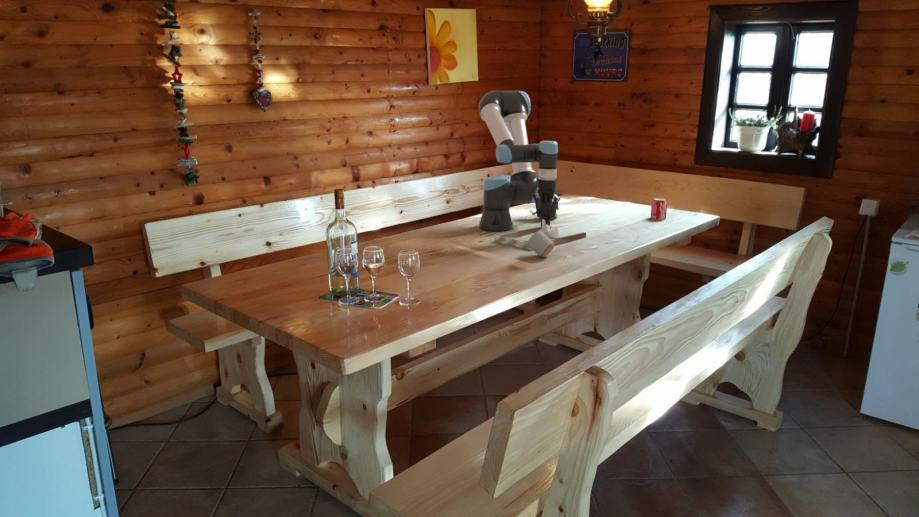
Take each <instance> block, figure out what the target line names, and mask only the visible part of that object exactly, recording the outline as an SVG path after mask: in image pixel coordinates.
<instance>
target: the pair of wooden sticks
mask: <svg viewBox="0 0 919 517" xmlns="http://www.w3.org/2000/svg"><path fill="white" fill-rule="evenodd" d="M541 229H542V227H541V226H537V227H531V228H526V229H522V230H516V231H512V232H507V233H500V234H496V235H493V242H494V243H497V244H503V245H507V246H512V247H517V248H521V249H525V250H528V251H533V250H532V249H530V248H529V247H528V246H527V242H528V241H524V240H519V239H517V238H521V237H525V236H528V235H533V234H534V233H536V232H537V231H539V230H541ZM586 238H587V232H585V231H584V232H580V233H574V234H571V235H570V234H569V235H565V236H560V238H556V239H551V240H552V242H553V243H554V247H555V246H559V245H563V244H568V243H572V242H575V241H578V240H582V239H586Z"/></svg>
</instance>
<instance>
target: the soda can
mask: <svg viewBox="0 0 919 517" xmlns="http://www.w3.org/2000/svg"><path fill="white" fill-rule="evenodd" d="M650 207H651V208H650V209H651V210H650V219H651V220H654V221H665V220H667V211H668V202H667V199H666V198H659V197H656V198H655V197H654V198H653V200H652V202H651V206H650Z"/></svg>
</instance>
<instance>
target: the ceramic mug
mask: <svg viewBox="0 0 919 517" xmlns="http://www.w3.org/2000/svg"><path fill="white" fill-rule="evenodd" d="M526 242H527V246H528V247H529V248H530V249H532V250H531V251H533V252H534V253H535V254H536V255H538V257H541V258H545V257H547V256H548V255H549V254H550V253H552V251H553V249H554V247H555V246H554V243H553V242H552V240H551V239H549V238H548V237H547V236H546V235H545V234H544V233H543V232H542V231H540V230H539V231H537V232H536V233H532V234H531V236H530V238H529V239H528V240H527V241H526Z"/></svg>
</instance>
